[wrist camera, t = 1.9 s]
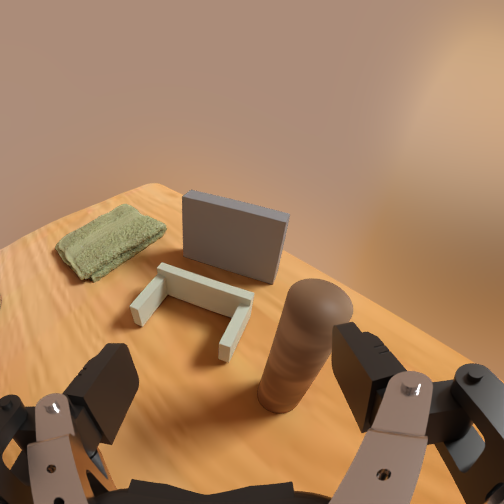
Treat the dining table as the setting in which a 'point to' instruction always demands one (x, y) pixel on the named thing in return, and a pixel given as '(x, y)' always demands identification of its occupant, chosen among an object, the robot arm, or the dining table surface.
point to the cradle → (197, 301)
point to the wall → (233, 235)
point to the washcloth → (108, 241)
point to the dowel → (302, 342)
